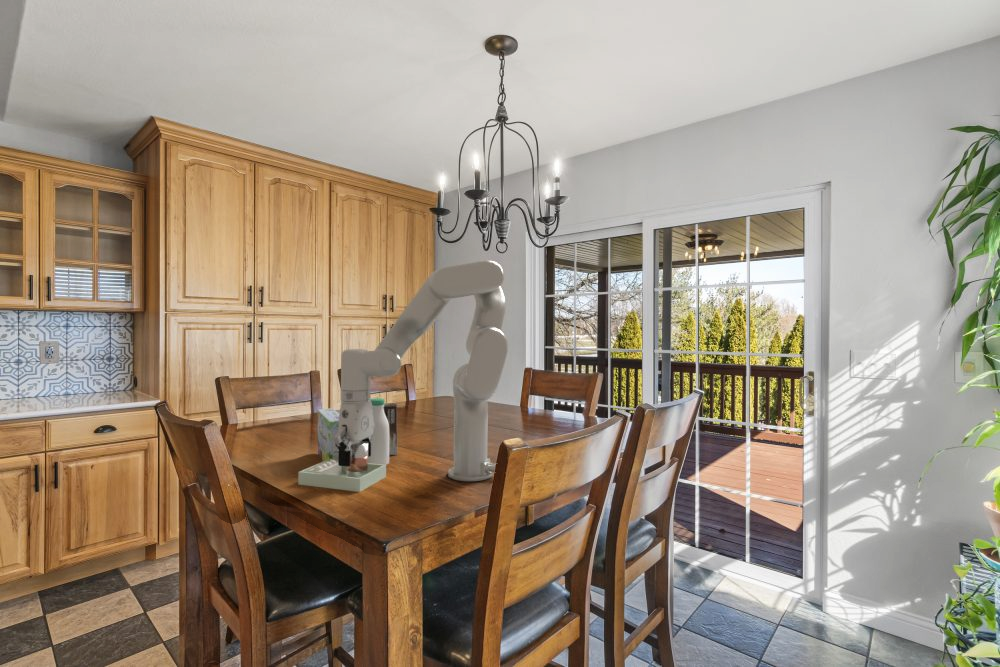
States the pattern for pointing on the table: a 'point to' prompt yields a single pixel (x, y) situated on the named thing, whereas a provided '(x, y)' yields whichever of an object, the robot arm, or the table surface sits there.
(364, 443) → the tin can
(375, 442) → the milk bottle
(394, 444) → the coffee box
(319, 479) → the pale green tray
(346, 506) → the table surface
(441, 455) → the table surface
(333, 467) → the egg carton
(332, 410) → the snack box
